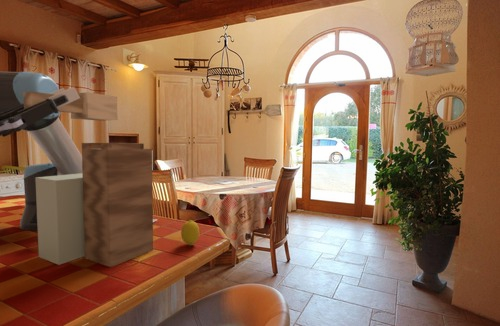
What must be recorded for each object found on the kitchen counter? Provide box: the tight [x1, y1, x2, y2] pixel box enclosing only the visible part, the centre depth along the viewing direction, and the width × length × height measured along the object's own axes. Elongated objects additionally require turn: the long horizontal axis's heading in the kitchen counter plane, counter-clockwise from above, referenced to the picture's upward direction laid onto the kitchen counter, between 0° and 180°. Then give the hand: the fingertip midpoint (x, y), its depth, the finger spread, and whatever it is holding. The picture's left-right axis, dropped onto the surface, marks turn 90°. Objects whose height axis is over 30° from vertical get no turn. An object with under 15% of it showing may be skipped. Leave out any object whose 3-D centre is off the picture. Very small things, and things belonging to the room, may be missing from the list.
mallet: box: [23, 91, 118, 122], centre depth 72 cm, size 7×19×6 cm, turn 151°
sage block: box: [36, 173, 85, 266], centre depth 86 cm, size 10×14×22 cm
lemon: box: [180, 219, 200, 246], centre depth 94 cm, size 6×6×8 cm
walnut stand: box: [81, 142, 154, 268], centre depth 85 cm, size 11×14×32 cm
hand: (71, 93), depth 71 cm, fingers closed on mallet, 3 cm apart
